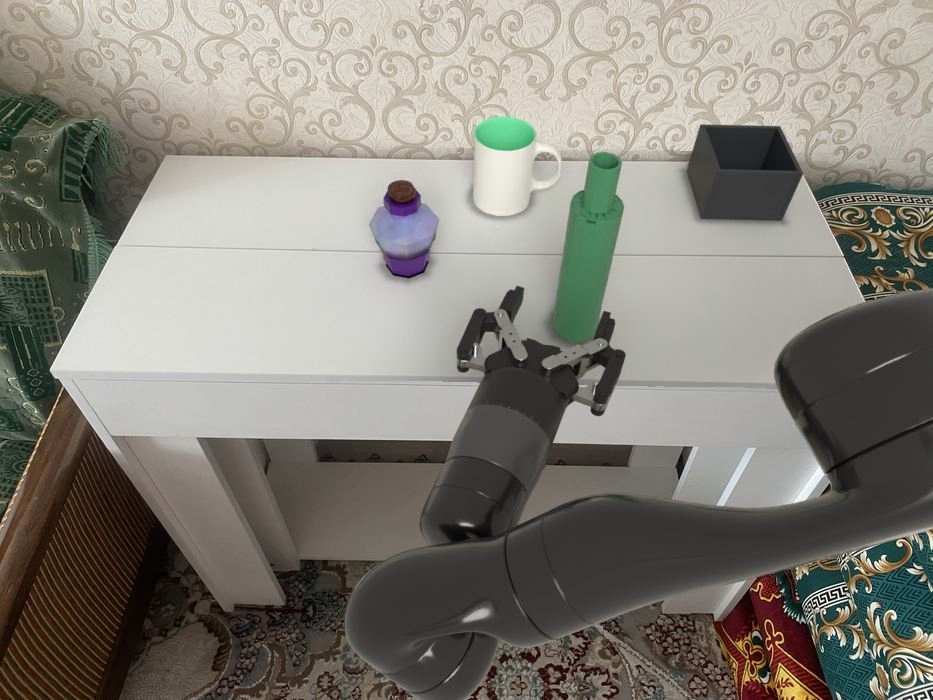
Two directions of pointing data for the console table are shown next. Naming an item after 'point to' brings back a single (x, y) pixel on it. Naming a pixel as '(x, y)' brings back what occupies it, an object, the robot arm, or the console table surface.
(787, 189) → the bin
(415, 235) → the potion bottle
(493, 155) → the mug
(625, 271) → the console table surface
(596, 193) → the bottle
